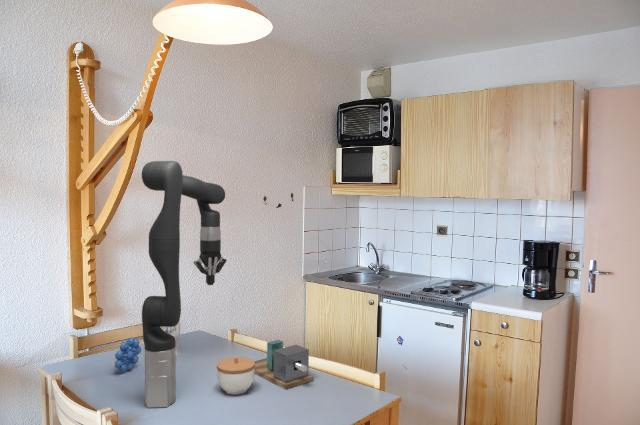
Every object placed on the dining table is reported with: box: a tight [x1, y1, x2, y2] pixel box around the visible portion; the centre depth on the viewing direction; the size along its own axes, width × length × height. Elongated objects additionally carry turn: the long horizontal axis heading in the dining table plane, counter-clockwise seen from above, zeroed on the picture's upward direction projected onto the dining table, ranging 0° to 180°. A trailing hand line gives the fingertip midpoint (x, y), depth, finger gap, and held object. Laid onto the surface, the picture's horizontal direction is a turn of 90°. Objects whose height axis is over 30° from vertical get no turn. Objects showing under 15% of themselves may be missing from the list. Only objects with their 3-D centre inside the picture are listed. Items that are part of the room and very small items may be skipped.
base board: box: [254, 357, 314, 390], centre depth 179 cm, size 26×12×2 cm, turn 41°
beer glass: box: [161, 320, 181, 357], centre depth 198 cm, size 7×7×15 cm
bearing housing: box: [274, 344, 310, 383], centre depth 173 cm, size 7×10×10 cm
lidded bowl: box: [216, 356, 256, 396], centre depth 164 cm, size 13×13×11 cm
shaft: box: [266, 339, 309, 372], centre depth 174 cm, size 19×5×10 cm, turn 41°
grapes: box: [114, 337, 142, 374], centre depth 181 cm, size 12×7×12 cm, turn 154°
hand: (210, 284), depth 185 cm, fingers closed
